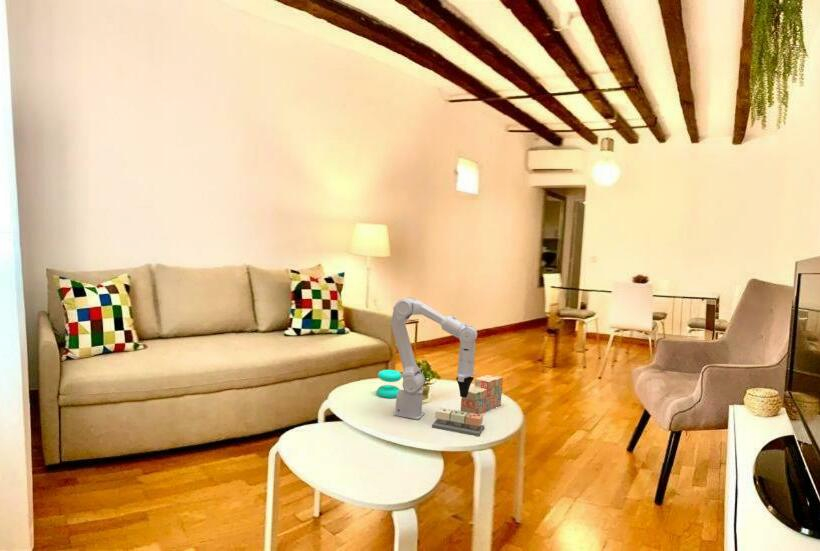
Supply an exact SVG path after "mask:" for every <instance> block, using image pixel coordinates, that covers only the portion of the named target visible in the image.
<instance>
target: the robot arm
mask: <svg viewBox="0 0 820 551" xmlns="http://www.w3.org/2000/svg"><path fill="white" fill-rule="evenodd" d="M392 309H393V311H392V314H391V315H392V316H391V319H390V327H391V329H392V334H393V337H394V341H395V345H396V347H397V350H398V351H397V352H398V355H399V359H400V361H401V365H402V373H401V374H402V389H400V390H399V391H398V394H397V397H395V398H396V400H395V401H396V402H395V413H394V416H395V417H396V416H397V417H403V418H408V419H414V420H420V419H421V418H423V416H424V415H425V413H426V412H424V411H422V410H423V399H424V398H423V397H424V395H423V394H424V390H423V386H424V385H425V383H426V378H425V377H426V376H424V374H423V373H422V371H421V369H420V367H419V366H418V364H417V362H416V357H415V355H414V350H413V348H412V343H411V340H410V336H409V334H408V330H407V326H406V324H407V322H408V320H409V319H410V317H412V316H415V315H416V316H417V315H422V316H424V317H426V318H427V319H430V320H431V321H434V322H436V323H437V324H439V325H440V327H441V330H442V331H444V332H447V333H449V334H450V335H451V336H453V337H455V338H458V339H459V351H458V364H457V371H456V374H457V376H456V378H455V379H456V382H457V385H458V388H459V396H460V398H462V397H464V398H466V397H467V395H468V391H469V388H470V387H471V384H472V383H473V380H475V379H474V378H475V377H476V376H477V372H474V370H475V359H476V358H475V357H476V339H477V338H478V331H477V329H476V328H475V327H473V325H468V323H466V322H462V321H460V320H458V319H457V316H455V315H452V316H451V315H447V316H444V315H443V314H441V313H440V312H438V311H437V310H435V309H433V308H431V307H430V306H429V305H427V304H425V303H424V302H422V301H420V300H418V299H415V298H414V297H409V296H408V297H406V298H401V299H399V300H398V301H397V302H396V303H395V304H394V306H393V308H392Z"/></svg>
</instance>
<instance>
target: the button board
mask: <svg viewBox="0 0 820 551" xmlns="http://www.w3.org/2000/svg"><path fill="white" fill-rule="evenodd" d="M465 423H466V422H465ZM465 423H459V422H453V421H450V420H449V421H448V420H443V419H437V418H436V420H435V421H434V422H433V423H432V424H431V428H434V429H439V430H444V431H449V432H454V433H460V434H466V435H470V436H475V437H480V436H481V434H482V433H483V431H484V430H485V425H484V424H481V425H480V426H475V425H470V424H465Z"/></svg>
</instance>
